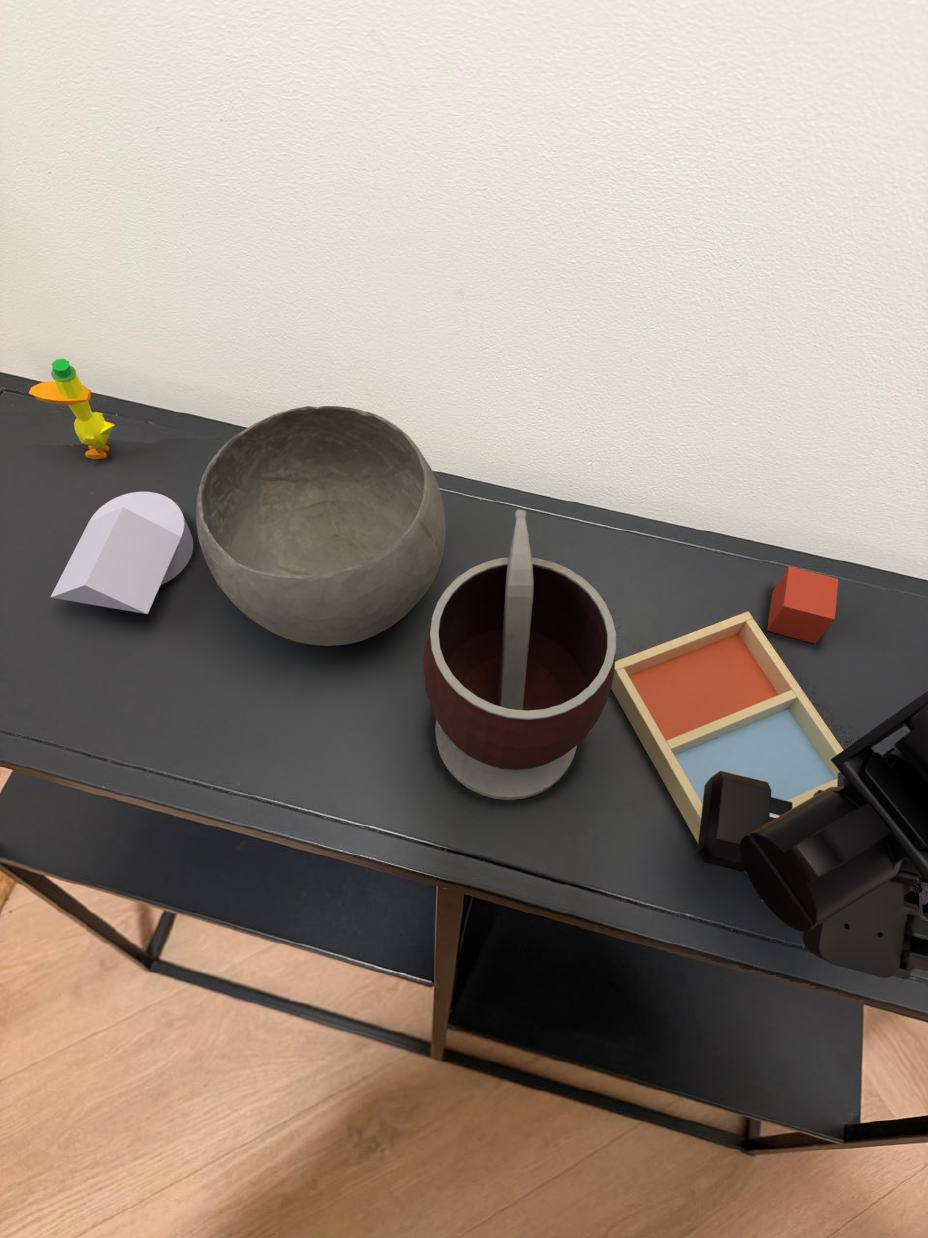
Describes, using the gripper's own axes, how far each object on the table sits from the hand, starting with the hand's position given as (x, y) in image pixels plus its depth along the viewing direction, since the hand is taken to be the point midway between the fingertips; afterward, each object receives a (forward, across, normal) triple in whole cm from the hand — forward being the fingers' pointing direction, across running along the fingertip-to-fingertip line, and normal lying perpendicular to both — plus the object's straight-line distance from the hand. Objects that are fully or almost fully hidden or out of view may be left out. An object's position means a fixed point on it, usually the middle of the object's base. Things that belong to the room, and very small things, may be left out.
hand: (796, 877), depth 64 cm
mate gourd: (+2, -25, +8) cm, 26 cm away
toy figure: (+2, -73, +26) cm, 77 cm away
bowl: (+2, -43, +17) cm, 47 cm away
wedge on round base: (+2, -62, +14) cm, 64 cm away
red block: (+2, -1, +25) cm, 25 cm away
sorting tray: (+2, -6, +12) cm, 13 cm away
